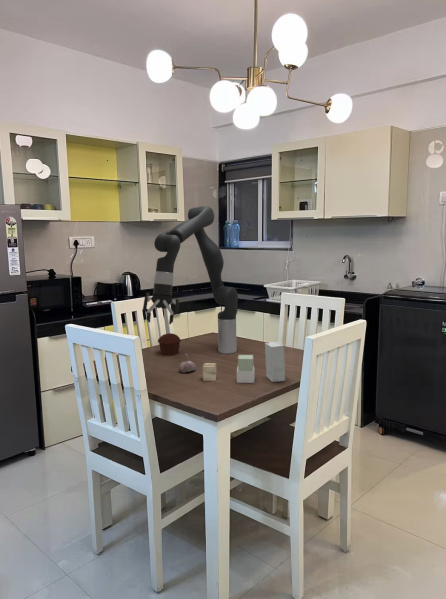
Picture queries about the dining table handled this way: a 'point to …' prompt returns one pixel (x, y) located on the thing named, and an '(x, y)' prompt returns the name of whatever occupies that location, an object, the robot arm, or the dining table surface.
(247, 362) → the sage block
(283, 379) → the skincare box
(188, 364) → the garlic bulb
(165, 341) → the muffin
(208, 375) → the beige metal block
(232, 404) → the dining table surface
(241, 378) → the grey base block
